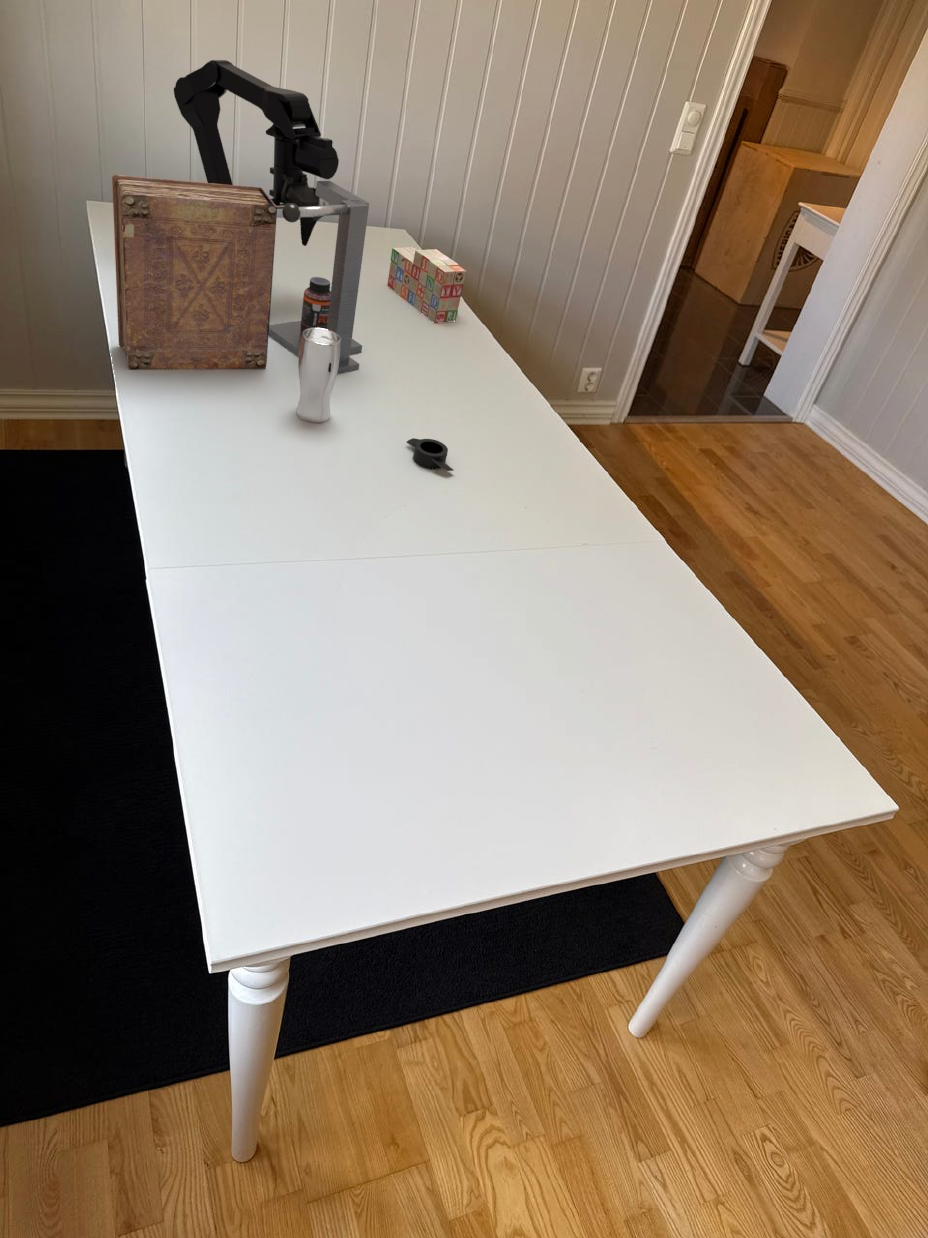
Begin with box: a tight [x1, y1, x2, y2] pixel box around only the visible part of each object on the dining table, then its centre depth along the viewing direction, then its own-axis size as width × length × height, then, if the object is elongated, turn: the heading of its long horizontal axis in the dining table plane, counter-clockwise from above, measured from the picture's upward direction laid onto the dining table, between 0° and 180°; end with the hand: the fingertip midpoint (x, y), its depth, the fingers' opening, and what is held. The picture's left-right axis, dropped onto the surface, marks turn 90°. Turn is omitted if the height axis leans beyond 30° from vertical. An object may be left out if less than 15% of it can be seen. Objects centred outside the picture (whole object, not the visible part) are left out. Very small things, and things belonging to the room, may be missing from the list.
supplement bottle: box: [300, 276, 331, 334], centre depth 176 cm, size 6×6×11 cm
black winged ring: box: [406, 438, 454, 472], centre depth 154 cm, size 8×10×3 cm
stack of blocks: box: [387, 246, 467, 324], centre depth 205 cm, size 21×6×12 cm, turn 36°
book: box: [111, 174, 278, 371], centre depth 156 cm, size 25×9×30 cm, turn 115°
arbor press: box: [268, 180, 370, 375], centre depth 166 cm, size 20×24×32 cm
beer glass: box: [295, 328, 341, 424], centre depth 154 cm, size 7×7×15 cm
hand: (286, 246), depth 183 cm, fingers open, 9 cm apart
